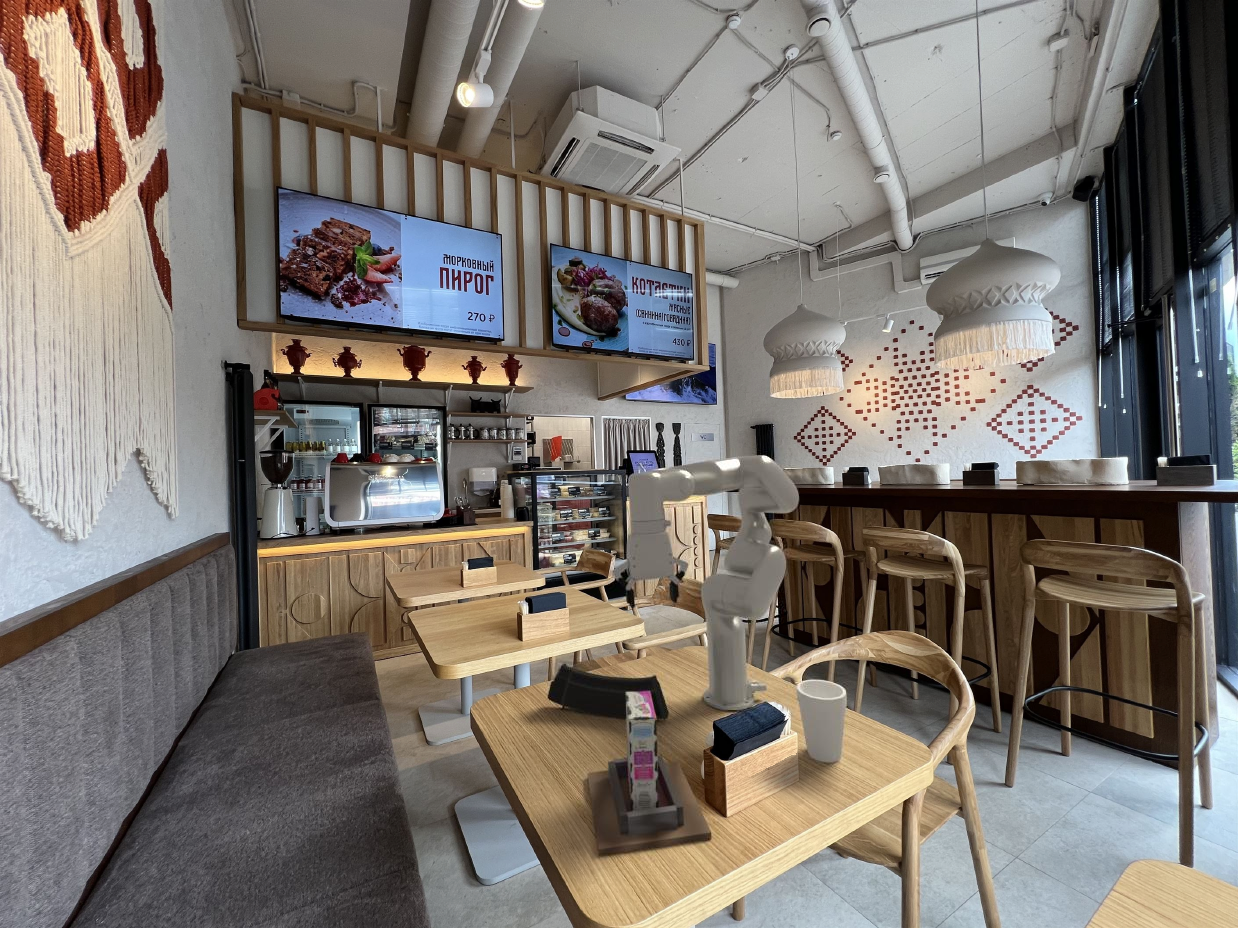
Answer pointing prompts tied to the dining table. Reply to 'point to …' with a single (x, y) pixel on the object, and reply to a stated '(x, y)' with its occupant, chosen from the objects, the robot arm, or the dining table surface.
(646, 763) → the candy bar box
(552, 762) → the dining table surface
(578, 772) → the dining table surface
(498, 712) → the dining table surface
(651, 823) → the end cap board
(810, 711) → the foam cup
